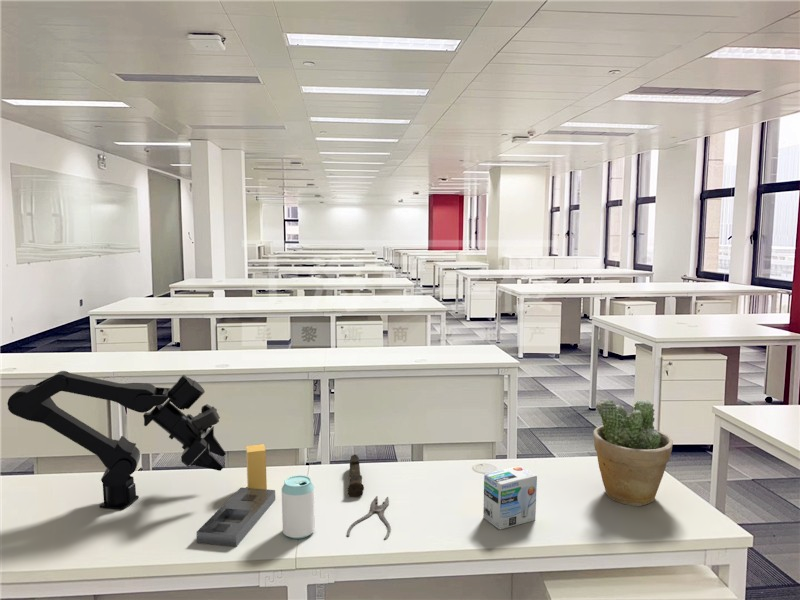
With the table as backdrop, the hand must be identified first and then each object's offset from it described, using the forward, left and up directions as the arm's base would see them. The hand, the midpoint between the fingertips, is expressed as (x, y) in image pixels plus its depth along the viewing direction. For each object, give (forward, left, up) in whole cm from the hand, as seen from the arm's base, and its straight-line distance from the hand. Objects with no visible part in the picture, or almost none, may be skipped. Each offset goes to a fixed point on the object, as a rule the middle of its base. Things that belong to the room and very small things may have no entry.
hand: (223, 461), depth 150 cm
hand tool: (+31, +12, -8) cm, 34 cm away
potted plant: (+101, +15, -8) cm, 103 cm away
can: (+25, -16, -8) cm, 31 cm away
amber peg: (+7, +3, -8) cm, 11 cm away
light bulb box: (+71, -2, -8) cm, 72 cm away
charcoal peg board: (+10, -13, -8) cm, 18 cm away
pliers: (+39, -7, -9) cm, 41 cm away
